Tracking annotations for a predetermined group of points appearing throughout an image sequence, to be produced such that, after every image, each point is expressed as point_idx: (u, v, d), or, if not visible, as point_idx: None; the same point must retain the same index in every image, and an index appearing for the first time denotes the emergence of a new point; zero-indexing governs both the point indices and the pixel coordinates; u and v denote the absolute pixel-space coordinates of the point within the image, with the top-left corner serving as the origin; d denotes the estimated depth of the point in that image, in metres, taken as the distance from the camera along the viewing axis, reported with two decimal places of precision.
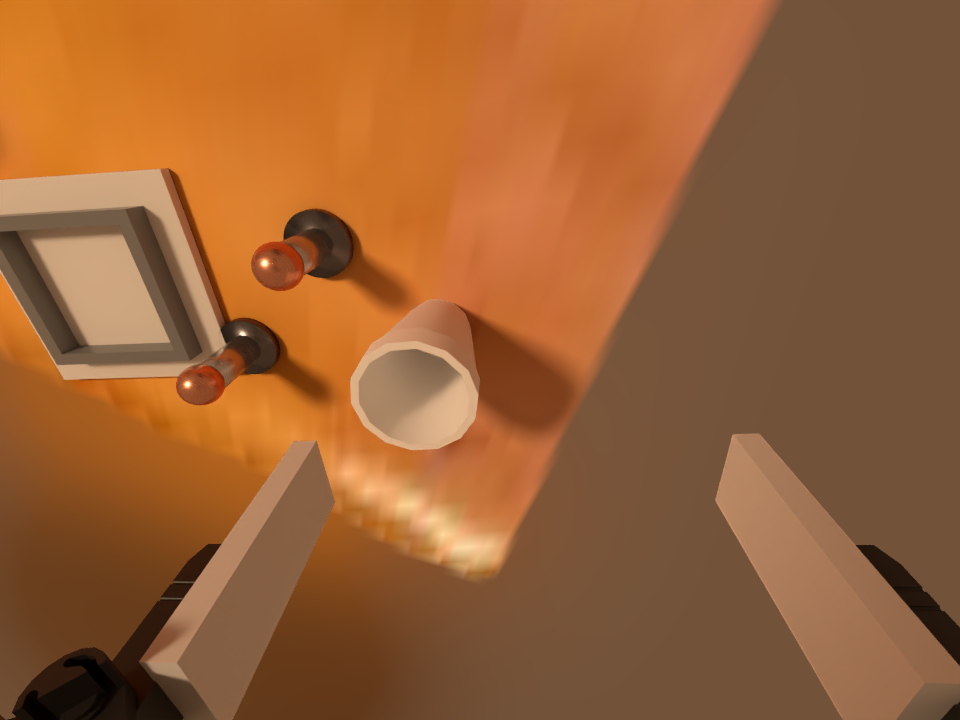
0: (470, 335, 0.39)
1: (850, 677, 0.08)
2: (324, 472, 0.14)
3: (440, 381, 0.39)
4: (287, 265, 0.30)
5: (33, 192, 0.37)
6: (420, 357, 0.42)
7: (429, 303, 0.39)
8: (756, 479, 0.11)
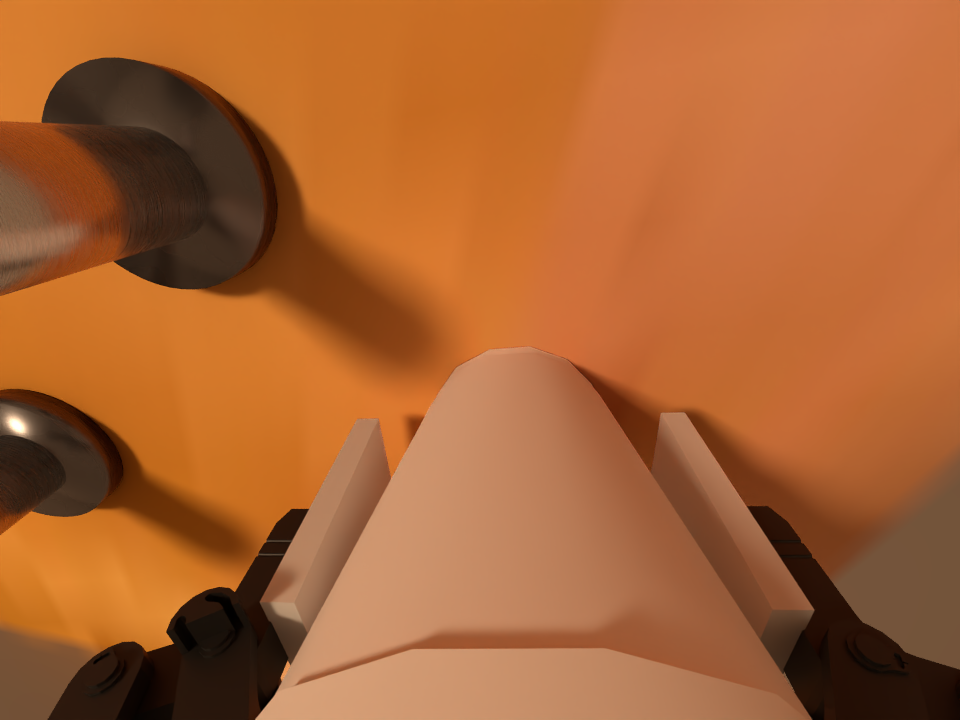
0: None
1: None
2: (383, 448, 0.15)
3: None
4: None
5: None
6: None
7: (505, 366, 0.13)
8: (675, 451, 0.13)
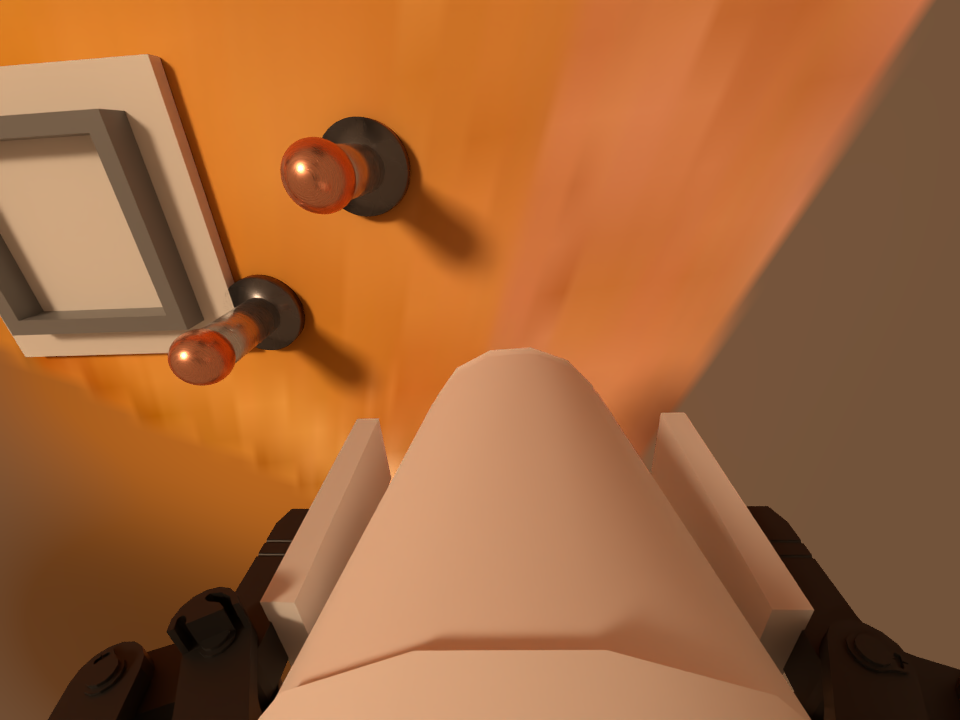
0: None
1: None
2: (383, 448, 0.15)
3: None
4: (335, 169, 0.20)
5: None
6: None
7: (506, 367, 0.13)
8: (675, 452, 0.13)
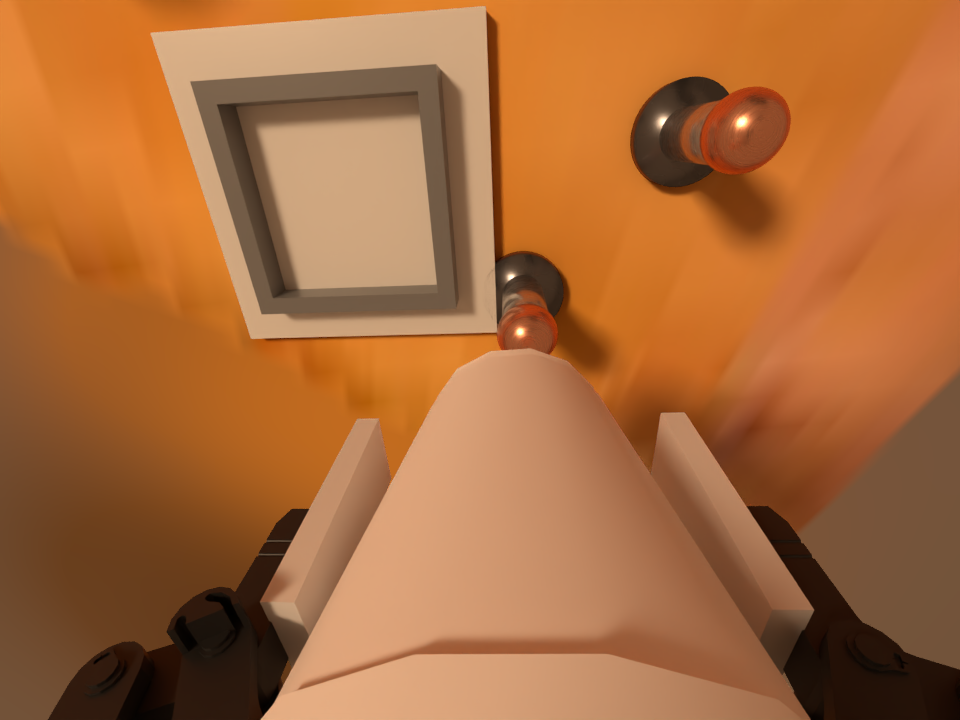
0: None
1: None
2: (383, 448, 0.15)
3: None
4: (789, 121, 0.18)
5: (278, 47, 0.25)
6: None
7: (506, 368, 0.13)
8: (675, 451, 0.13)
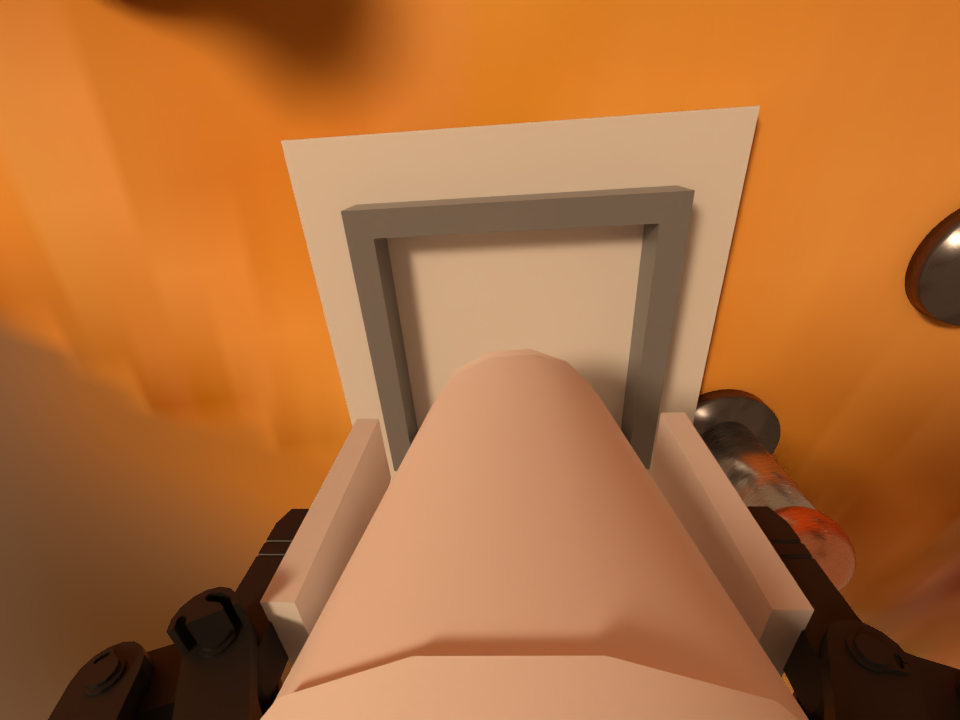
0: None
1: None
2: (383, 448, 0.15)
3: None
4: None
5: (455, 158, 0.18)
6: None
7: (505, 368, 0.13)
8: (675, 451, 0.13)
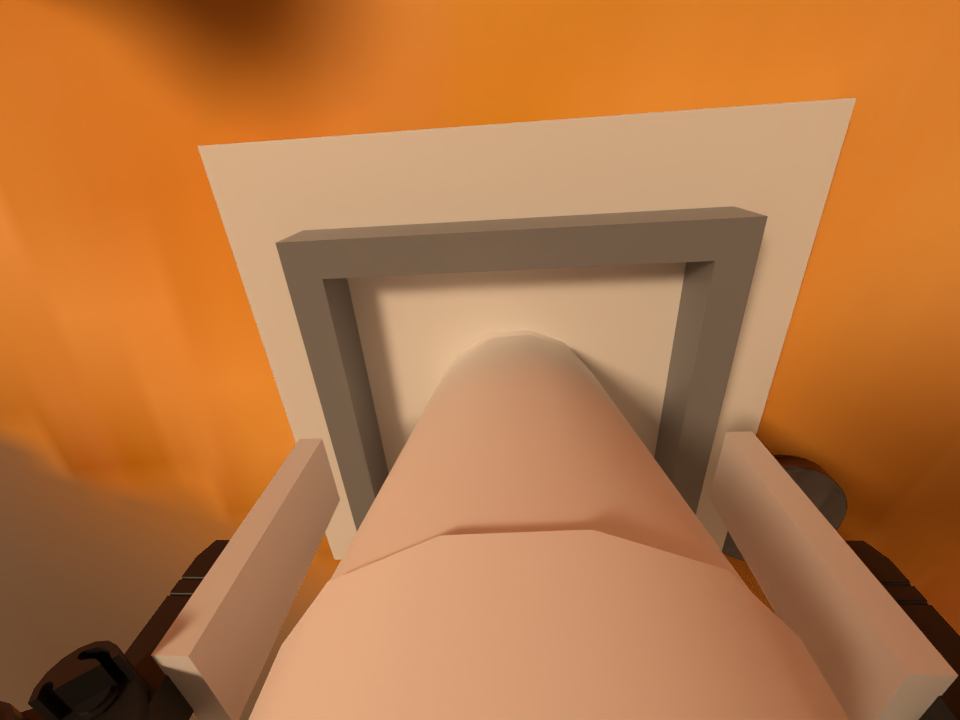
0: None
1: (838, 670, 0.08)
2: (329, 469, 0.14)
3: None
4: None
5: (434, 169, 0.14)
6: None
7: (507, 345, 0.14)
8: (748, 476, 0.12)
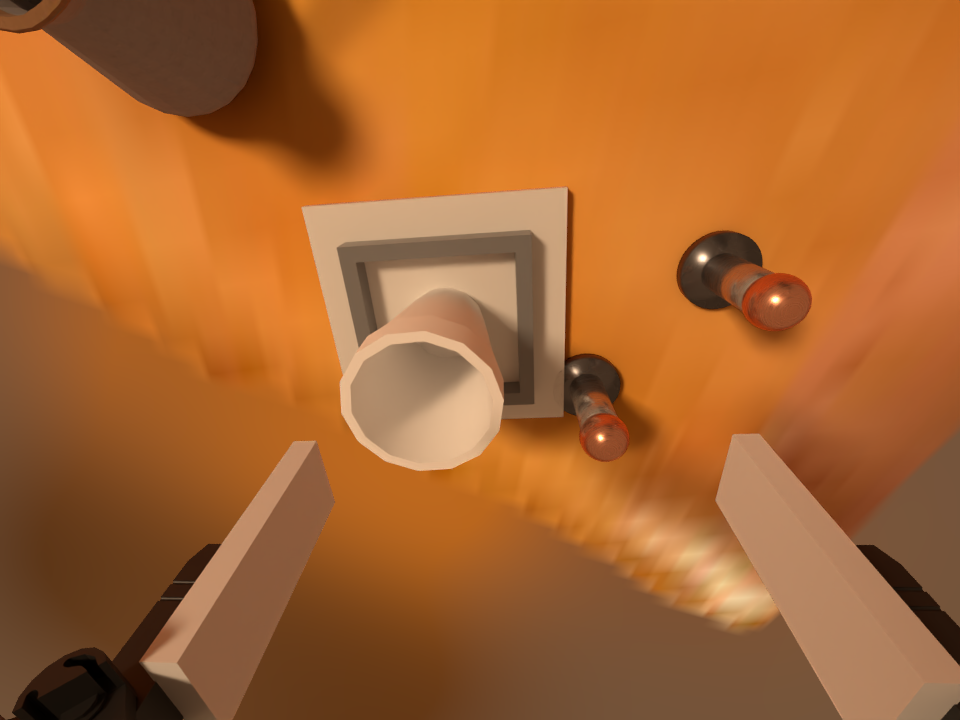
0: (485, 329, 0.32)
1: (850, 677, 0.08)
2: (324, 472, 0.14)
3: (450, 385, 0.33)
4: (811, 302, 0.25)
5: (402, 216, 0.32)
6: (425, 357, 0.35)
7: (435, 291, 0.33)
8: (756, 479, 0.11)
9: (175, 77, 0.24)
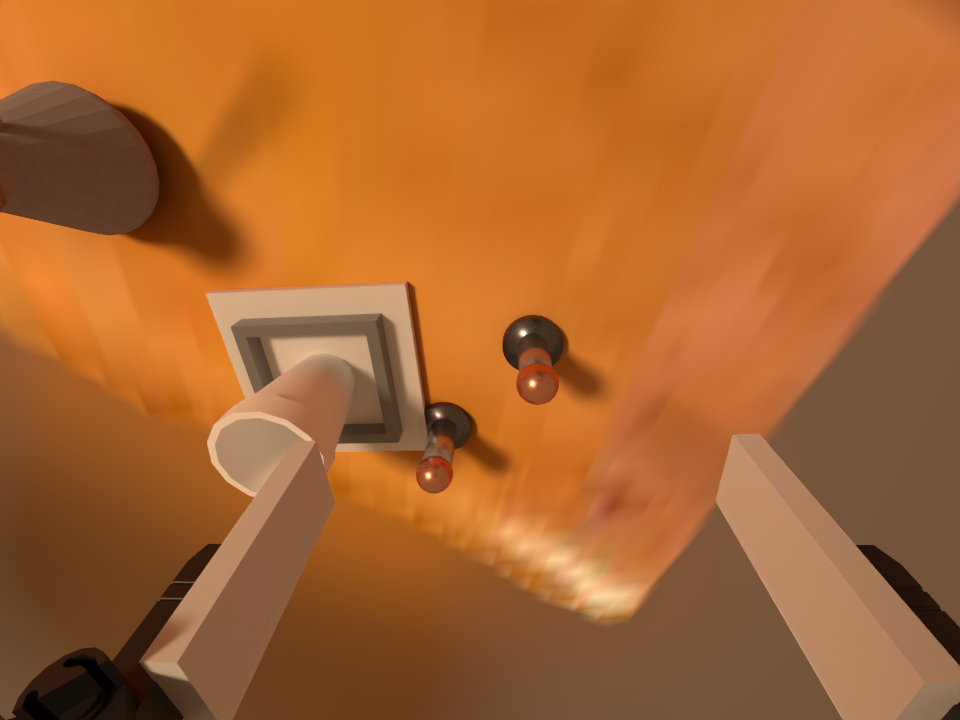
0: (346, 389, 0.42)
1: (850, 677, 0.08)
2: (324, 472, 0.14)
3: None
4: (554, 387, 0.35)
5: (283, 301, 0.41)
6: None
7: (310, 358, 0.42)
8: (756, 479, 0.11)
9: (92, 221, 0.34)
